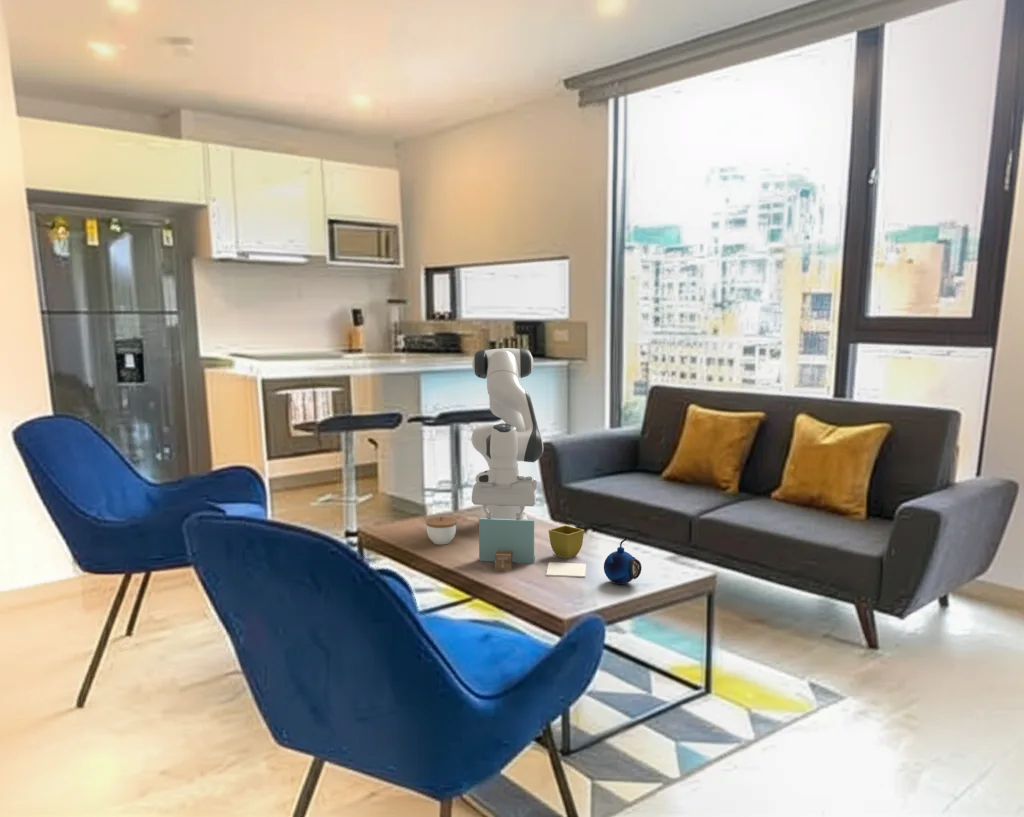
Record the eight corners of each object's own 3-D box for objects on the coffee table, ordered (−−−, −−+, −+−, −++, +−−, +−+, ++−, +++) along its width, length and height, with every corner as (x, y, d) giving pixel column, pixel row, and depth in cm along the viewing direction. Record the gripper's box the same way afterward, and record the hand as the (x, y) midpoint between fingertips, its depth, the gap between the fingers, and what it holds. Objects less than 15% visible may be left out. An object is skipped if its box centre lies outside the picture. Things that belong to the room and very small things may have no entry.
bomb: (630, 592, 212) (631, 541, 211) (597, 584, 219) (598, 535, 217) (645, 583, 220) (646, 534, 218) (613, 575, 227) (614, 528, 225)
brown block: (497, 565, 237) (497, 550, 236) (512, 565, 236) (512, 550, 236) (494, 570, 232) (494, 554, 231) (510, 571, 231) (510, 555, 231)
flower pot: (547, 555, 246) (547, 529, 245) (564, 550, 253) (564, 524, 252) (567, 561, 240) (567, 534, 239) (584, 555, 246) (584, 529, 245)
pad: (549, 563, 238) (549, 562, 238) (586, 565, 237) (586, 563, 237) (546, 575, 226) (546, 574, 226) (585, 577, 225) (585, 576, 225)
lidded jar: (462, 540, 264) (462, 514, 263) (446, 548, 255) (445, 521, 254) (437, 536, 269) (437, 511, 268) (420, 543, 260) (420, 517, 259)
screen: (481, 556, 246) (481, 515, 244) (535, 558, 243) (535, 517, 242) (479, 560, 241) (479, 519, 239) (533, 563, 239) (533, 520, 237)
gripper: (537, 474, 233) (537, 517, 234) (474, 473, 235) (474, 515, 237) (535, 478, 226) (535, 522, 228) (470, 476, 229) (470, 520, 230)
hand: (503, 519), depth 232 cm, fingers open, 8 cm apart
